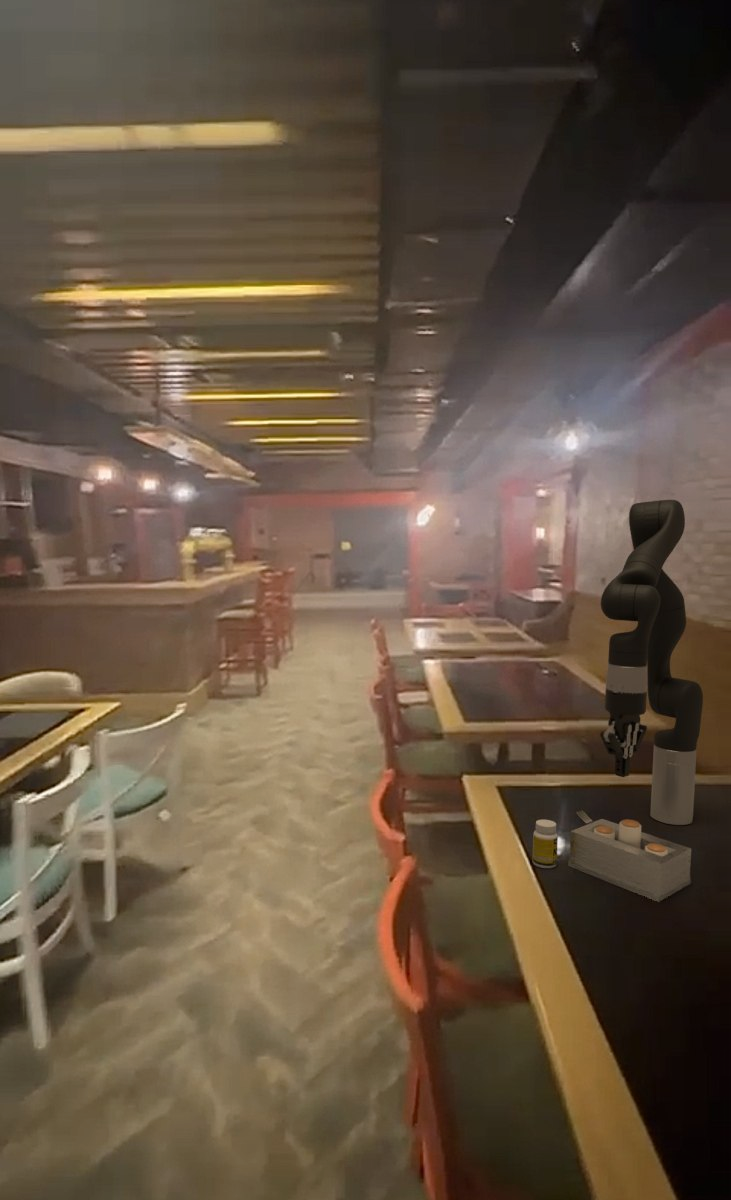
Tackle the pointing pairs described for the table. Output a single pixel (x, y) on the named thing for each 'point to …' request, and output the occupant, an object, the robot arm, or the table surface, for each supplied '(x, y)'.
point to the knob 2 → (630, 832)
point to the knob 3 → (656, 849)
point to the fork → (585, 817)
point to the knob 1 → (605, 831)
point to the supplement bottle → (545, 844)
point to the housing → (630, 862)
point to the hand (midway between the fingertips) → (621, 775)
